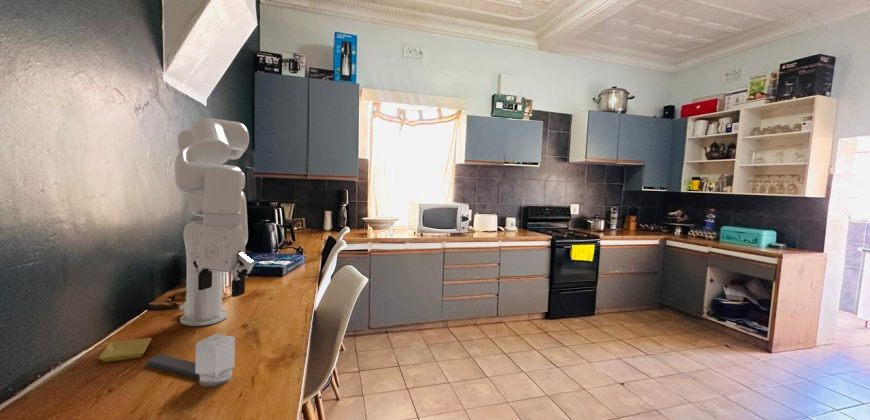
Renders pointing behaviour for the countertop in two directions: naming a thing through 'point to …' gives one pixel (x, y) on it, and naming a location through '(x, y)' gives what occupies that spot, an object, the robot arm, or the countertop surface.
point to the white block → (215, 355)
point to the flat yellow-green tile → (125, 350)
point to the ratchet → (186, 370)
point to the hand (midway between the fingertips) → (221, 291)
